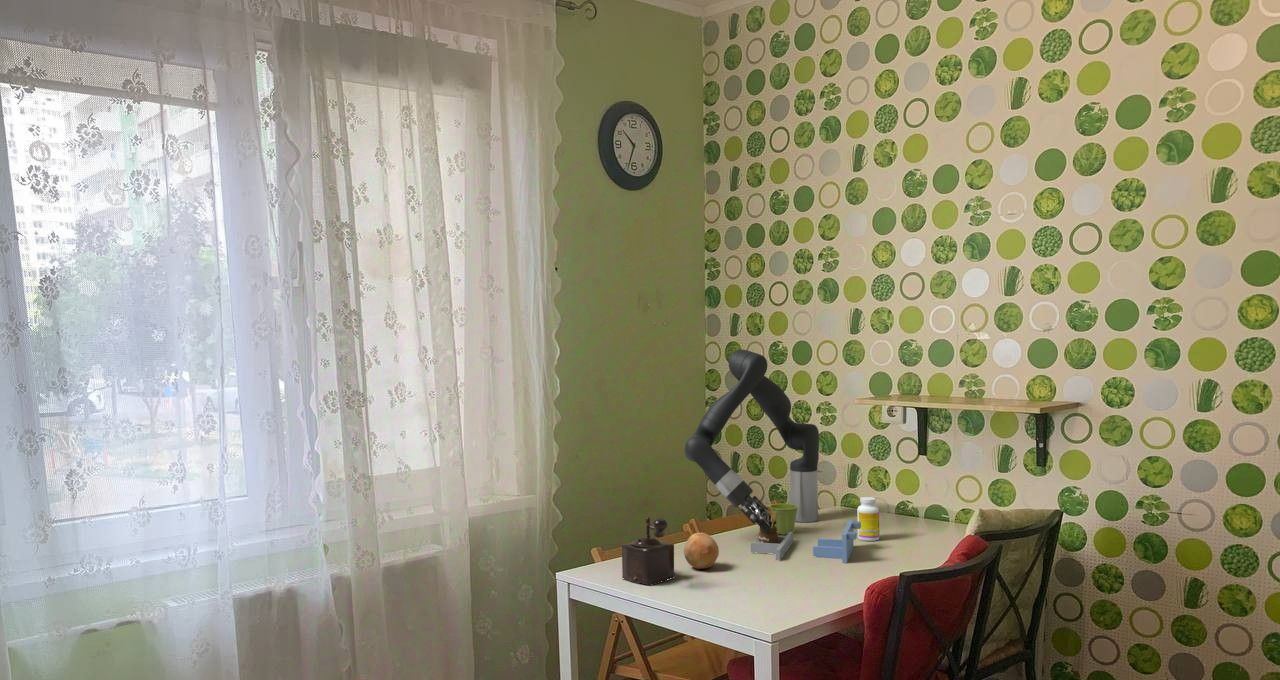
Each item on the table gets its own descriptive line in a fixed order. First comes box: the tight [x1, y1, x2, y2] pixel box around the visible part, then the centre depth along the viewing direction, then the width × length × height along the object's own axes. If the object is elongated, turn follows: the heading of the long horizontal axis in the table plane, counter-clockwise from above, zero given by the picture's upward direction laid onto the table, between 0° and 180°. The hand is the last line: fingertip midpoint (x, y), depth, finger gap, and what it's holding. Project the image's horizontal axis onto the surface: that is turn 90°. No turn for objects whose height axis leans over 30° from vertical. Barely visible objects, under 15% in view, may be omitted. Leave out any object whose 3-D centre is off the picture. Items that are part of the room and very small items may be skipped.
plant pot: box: [768, 503, 799, 535], centre depth 298 cm, size 9×9×9 cm
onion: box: [683, 532, 720, 570], centre depth 256 cm, size 10×10×10 cm
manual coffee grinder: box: [621, 516, 675, 586], centre depth 245 cm, size 16×11×18 cm
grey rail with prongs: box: [750, 532, 794, 561], centre depth 276 cm, size 10×24×3 cm, turn 161°
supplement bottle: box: [856, 496, 880, 542], centre depth 286 cm, size 7×7×13 cm
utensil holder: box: [758, 512, 779, 544], centre depth 276 cm, size 6×6×12 cm
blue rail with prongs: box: [812, 519, 861, 564], centre depth 269 cm, size 12×20×8 cm, turn 162°
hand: (771, 527), depth 275 cm, fingers open, 8 cm apart
